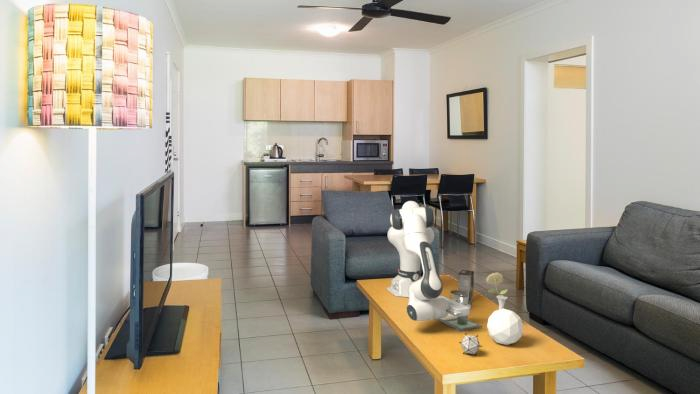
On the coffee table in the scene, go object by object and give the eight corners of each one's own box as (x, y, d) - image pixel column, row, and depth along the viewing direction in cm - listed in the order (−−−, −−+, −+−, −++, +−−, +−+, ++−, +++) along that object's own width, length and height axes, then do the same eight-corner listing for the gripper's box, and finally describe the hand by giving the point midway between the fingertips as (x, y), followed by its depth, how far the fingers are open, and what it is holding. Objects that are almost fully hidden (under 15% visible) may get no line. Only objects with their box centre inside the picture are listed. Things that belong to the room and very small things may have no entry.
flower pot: (468, 312, 257) (468, 295, 256) (449, 311, 258) (449, 294, 258) (467, 306, 266) (468, 290, 265) (449, 305, 268) (449, 289, 267)
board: (427, 315, 251) (428, 314, 251) (449, 312, 257) (449, 310, 257) (459, 331, 230) (459, 329, 230) (481, 327, 236) (481, 325, 236)
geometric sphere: (494, 354, 217) (474, 323, 221) (518, 336, 224) (498, 306, 227) (512, 349, 205) (490, 316, 208) (537, 330, 211) (515, 298, 215)
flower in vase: (514, 323, 241) (516, 271, 239) (513, 331, 230) (515, 277, 228) (485, 320, 245) (487, 268, 243) (483, 327, 235) (485, 274, 232)
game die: (465, 361, 206) (454, 338, 210) (484, 354, 206) (473, 330, 210) (467, 359, 198) (456, 334, 202) (487, 351, 198) (476, 327, 202)
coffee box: (461, 298, 281) (462, 269, 280) (473, 299, 278) (474, 270, 277) (457, 302, 273) (458, 272, 271) (469, 304, 270) (470, 274, 268)
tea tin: (454, 322, 239) (455, 293, 238) (463, 321, 241) (463, 291, 240) (461, 325, 235) (462, 295, 234) (469, 324, 237) (470, 294, 236)
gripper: (455, 307, 222) (479, 303, 228) (427, 295, 240) (450, 291, 246) (454, 321, 222) (479, 317, 229) (427, 308, 240) (450, 304, 247)
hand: (464, 303), depth 237 cm, fingers open, 7 cm apart
